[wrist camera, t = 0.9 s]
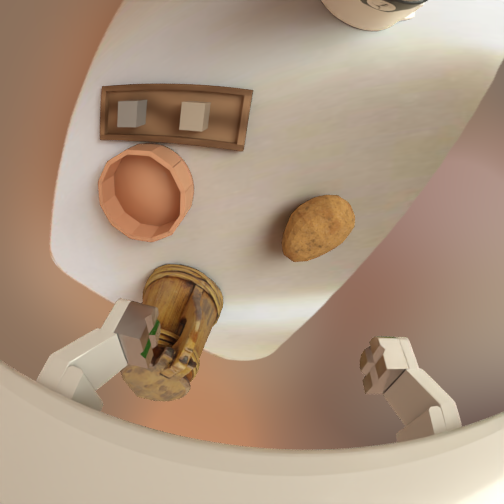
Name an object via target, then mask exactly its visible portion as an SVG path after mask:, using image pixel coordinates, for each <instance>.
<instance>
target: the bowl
mask: <svg viewBox="0 0 504 504" xmlns="http://www.w3.org/2000/svg"><path fill="white" fill-rule="evenodd" d="M98 189H99V200H100V206H101V208H102V209H103V211H104V213H105V215H106V216H107V218H108V220H109V221H110V223H111V225H112V226H114V227H115V228H116V229H118V230H119V231H121V232H122V233H123V234H125V235H126V236H127V237H129V238H131V239H136V240H142V241H147V242H154V241H157V240H159V239H162V238H165V237H168V236H170V235H172V234H173V232H174V231H175V230H176V228H177V227H178V225H179V224H180V223H181V221H182V220H183V218H184V217H185V215H186V214H187V212H188V211H189V209H190V208H191V206H192V200H193V195H194V184H193V179H192V175H191V172H190V170H189V168H188V166H187V164H186V163H185V162H184V160H183V159H182V158H181V157H180V156H179V155H178V154H177V153H176V152H174V151H173V150H171V149H170V148H168V147H165V146H163V145H160V144H154V143H145V144H137V145H135V146H133V147H131V148H129V149H127V150H125V151H124V152H122V153H120V154H119V155H117V156H115V157H114V158H112V159H111V160H109V161H107V163H106V165H105V167H104V170H103V172H102V174H101V176H100V179H99V181H98Z"/></svg>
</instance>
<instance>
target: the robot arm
mask: <svg viewBox="0 0 504 504" xmlns="http://www.w3.org/2000/svg"><path fill="white" fill-rule="evenodd" d="M321 1H322V2H323V4H324V5H325V7H326V8H327V9H328V10H329V11H330V12H331V13H332V14H333V15H334V16H336V17H337V18H338V19H340V20H341V21H343V22H345V23H347V24H349V25H351V26H353V27H356V28H359V29H363V30H370V31H378V30H384V29H387V28H389V27H391V26H393V25H394V24H395V23H397V22H398V21H401V20H409V19H412V18H413V17H414V16H415V12H414V11H416V10H417V9H419V8H420V7H422V6H423V4H424V3H425V2H426V1H427V0H321ZM158 315H159V312H158V308H157V307H154V306H150V305H146V304H142V303H138V302H134V301H130V300H126V299H122V298H120V299H119V300H117V301H116V303H115V305H114V306H113V308H112V310H111V312H110V313H109V315H108V317H107V318H106V320H105V322H104V324H103V325H102V327H101V329H99V328H96V329H95V330H93V331H92V332H89V333H88V334H86V335H84V336H82V337H81V338H79V339H77V340H76V341H74V342H72V343H70V344H69V345H67V346H65V347H63V348H62V349H60V350H58V351H56V352H55V353H53V354H51V355H50V357H49V358H48V360H47V362H46V364H45V366H44V367H43V369H42V371H41V373H40V375H39V377H38V378H37V380H36V381H34V380H32V379H30V378H29V377H27V376H25V375H23V374H22V373H20V372H18V371H17V370H15V369H14V368H12V367H10V366H9V365H7V364H6V363H4V362H2V361H1V360H0V504H504V412H501V413H499V414H496V415H494V416H492V417H489V418H487V419H484V420H481V421H478V422H475V423H473V424H469V425H466V426H463V427H462V424H461V420H460V417H459V414H458V410H457V407H456V404H455V401H454V400H453V399H452V398H451V397H450V396H449V395H448V394H446V392H445V391H444V390H443V389H442V388H441V387H440V386H439V385H438V384H437V383H436V382H435V381H434V380H433V379H432V378H431V377H429V375H428V374H427V373H426V372H425V371H424V370H422V369H419V367H418V364H417V361H416V358H415V356H414V353H413V350H412V347H411V345H410V342H409V339H408V338H407V337H384V336H375V337H373V338H372V339H371V341H370V342H369V343H370V346H369V347H368V348H366V349H365V350H364V351H363V353H362V354H361V358H360V369H361V372H362V373H363V374H364V375H365V377H364V379H363V385H364V390H365V394H383V396H384V397H385V399H386V400H387V402H388V403H389V404H390V406H391V407H392V408H393V410H394V411H395V413H396V414H397V415H398V417H399V418H400V420H401V421H402V422H403V424H404V425H405V428H403V429H402V430H400V431H399V432H398V433H397V434H396V438H397V442H396V443H390V444H384V445H376V446H367V447H358V448H345V449H327V450H326V449H324V450H289V449H267V448H256V447H244V446H237V445H229V444H222V443H215V442H210V441H204V440H198V439H193V438H188V437H183V436H178V435H175V434H171V433H166V432H163V431H158V430H155V429H151V428H148V427H144V426H141V425H138V424H134V423H131V422H128V421H125V420H122V419H119V418H116V417H113V416H111V415H108V414H105V413H103V412H101V409H102V407H103V402H102V400H101V399H100V397H99V396H98V394H97V393H96V390H97V389H98V388H100V387H101V386H102V385H103V384H104V383H106V382H107V381H108V380H110V379H111V378H112V377H113V376H114V375H115V374H117V373H118V372H119V371H121V370H122V369H123V368H124V367H126V366H127V365H128V364H131V365H135V366H139V367H143V368H147V369H148V368H149V365H150V363H151V360H152V357H153V351H152V348H154V347H156V346H157V344H158V341H159V337H160V332H161V326H160V322H159V321H158V319H157V317H158Z"/></svg>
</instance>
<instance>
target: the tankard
mask: <svg viewBox="0 0 504 504" xmlns="http://www.w3.org/2000/svg"><path fill="white" fill-rule="evenodd" d="M142 304H146V305H150V306H154V307H157V308H158V312H159V315H158V317H157V319H158V321H159V322H160V326H161V332H160V337H159V341H158V344H157V346H156V347H154V348H152V351H153V357H152V360H151V363H150V365H149V368H148V369H147V368H143V367H139V366H135V365H131V364H128V365H127V366H126V367H124V368H123V369H122V370H121V371H120V372H121V375H122V378H123V380H124V381H125V382H126V384H127V385H128V386H129V387H130V389H131V390H132V391H133V392H134V393H135V394H136V396H138V397H141V398H145V399H149V400H154V401H172V400H176V399H180V398H182V397H183V396H185V395H186V394H187V393H188V392H189V390H190V382H191V381H192V380H193V379H194V378H195V376H196V374H197V372H198V369H199V365H200V360H199V358H200V356H201V353H202V351H203V348H204V345H205V343H206V341H207V338H208V336H209V334H210V331H211V329H212V327H213V326H214V325H215V324H216V323H217V321H218V318H219V316H220V313H221V310H222V308H223V296H222V293H221V291H220V289H219V287H218V286H217V285H216V284H215V283H214V282H213V281H212V280H211V279H210V278H208V277H207V276H206V275H205V274H203V273H202V272H200V271H199V270H197V269H194V268H191V267H188V266H184V265H176V264H168V265H163V266H161V267H158V268H156V269H155V270H154V273H153V274H152V275H151V276H150V277H149V279H148V280H147V282H146V285H145V287H144V290H143V302H142Z"/></svg>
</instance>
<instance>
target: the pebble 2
mask: <svg viewBox="0 0 504 504" xmlns="http://www.w3.org/2000/svg"><path fill="white" fill-rule="evenodd" d="M210 105H211V102H200V101H184V102H182V106H181V116H180V127H179V130H190V131H200V132H202V131H204V130H206V129H208V121H209V113H210Z"/></svg>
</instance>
